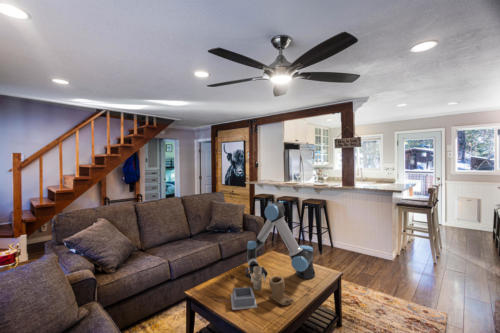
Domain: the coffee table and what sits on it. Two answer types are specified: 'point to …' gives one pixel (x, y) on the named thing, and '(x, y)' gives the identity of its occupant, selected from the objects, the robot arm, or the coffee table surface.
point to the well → (243, 298)
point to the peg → (257, 278)
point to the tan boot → (279, 291)
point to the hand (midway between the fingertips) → (258, 279)
